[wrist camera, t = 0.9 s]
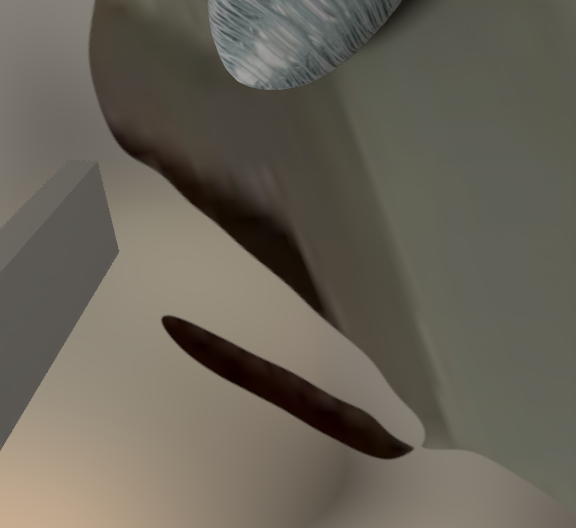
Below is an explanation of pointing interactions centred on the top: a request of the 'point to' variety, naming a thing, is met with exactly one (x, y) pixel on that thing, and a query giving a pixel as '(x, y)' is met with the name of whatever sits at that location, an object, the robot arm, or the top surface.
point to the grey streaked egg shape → (292, 37)
